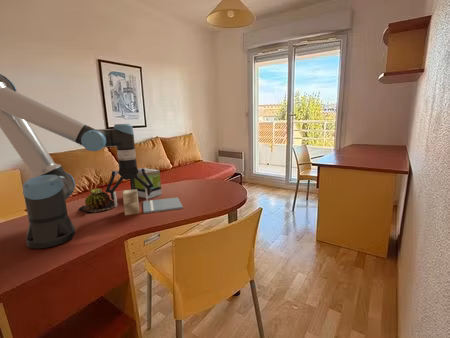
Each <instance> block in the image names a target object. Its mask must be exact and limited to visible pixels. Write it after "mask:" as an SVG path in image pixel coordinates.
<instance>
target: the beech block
mask: <svg viewBox="0 0 450 338" xmlns="http://www.w3.org/2000/svg"><path fill="white" fill-rule="evenodd" d="M122 199H123V201H122V202H123V206H124V207H123V209H124V216H130V215H137V214H140V206H139V205H140V204H139V203H140V202H139V197H138V192H137V189H134V190H131V189H127V190H125V189H124V190H123V192H122Z"/></svg>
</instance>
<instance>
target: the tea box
mask: <svg viewBox="0 0 450 338" xmlns="http://www.w3.org/2000/svg"><path fill="white" fill-rule="evenodd" d="M142 168H144V167H141V168H140V169H142ZM144 170H145V173H146V175H147V176H148V178H149V179H150V181H151V182H152V184H153V187H151V188H150V195H149V196H148V200H149V199H150V200H151V199H152V198H157V197H159V196H161V195H162V182H161V171H160V169H155V168H154V169H153V168H146V167H145V168H144ZM137 175H138V176H139V177H140V178H141V179H142V180H143V181H144V182H145V183H146V184H148V185H149V183H148V182H147V180H146V179H145V177H144V176H143V174H142V173H140V172H138V173H137ZM129 181H130V183H129V184H130V190H134V189H137V192H138V198H143V199H146V191H145V188H146V187H145V186H143V185H142V184H141V183H140V182H139V181H138V180H136V179H135V178H134V179H129Z"/></svg>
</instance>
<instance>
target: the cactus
mask: <svg viewBox="0 0 450 338" xmlns="http://www.w3.org/2000/svg"><path fill="white" fill-rule="evenodd" d="M89 193H90V194H89V195H88V196H87V197H85V199H84V203H85V205H82V206H80V207H79V208H78V209H77V210H78V211H79V212H83V213H99V212H102V211H105V210H110V209H113V208H116V207H115V203H114V200H112V199H111V194H108V192H106V191H103V189H101V188H99V187H98V188H95V189H94V188H93V189H91V190H90V191H89Z"/></svg>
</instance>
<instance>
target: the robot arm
mask: <svg viewBox="0 0 450 338" xmlns="http://www.w3.org/2000/svg"><path fill="white" fill-rule="evenodd" d="M31 124H32V125H34V126H37V127H39V128H41V129H44V130H46V131H48V132H50V133H52V134H53V133H54V134H55V135H58V136H59V137H62V138H65V139H67V140H70V141H71V142H74V143H76V144H78V145H80V146H82V147H83V148H85V150H88V151H90V152H98V151H101V150H103V149H104V148H107V147H115V148H116V154H117V159H118V160H117V162H118V170H112V171H111V176H110V180H109V182H108V184H107V186H106V189H105V193H110V199H111V200H112V201H114V203H115V207H114V208H117V207H118V200H117V192H116V189H117V188H118V187H119V185H120V184H122V182H123V180H125V181H127V180H130V179H134V178H135V179H136V180H138V181H139V182H140V183H141V184H142V185H143V186H145V187H146V188H145V191H146V198H145V199H146V200H145V201H147V203H148V201H149V199H148V196H149V195H150V188H151V187H153V184H152V182H151V181H150V179H149V178H148V176H147V175H146V173H145V170H144V167H141V168H142V169H141V168H138V164H137V159H136V157H137V153H136V145H135V135H134V134H135V133H134V129H133V128H134V127H133V125H132V124H130V123H115V124H114V125H113V128H108V129H107V128H105V129H104V128H103V129H101V128H100V129H95V128H93V127H91V126H89V125H87V124H85V123H82V122H80V121H79V120H76V119H74V118H72V117H70V116H68V115H66V114H64V113H61V112H59V111H58V110H55V109H54V108H51V107H49V106H47V105H46V104H45V105H44V104H43V103H41V102H39V101H36V100H34V99H32V98H31V97H28V96H26V95H24V94H22V93H20V92H17V88H16V86H15V84H14V83H13V81H11V79H9V78H8V77H6V76H4V75H3V74H1V73H0V129H1V131H2V132H3V134H4V135H5V137H6V138H7V140H8V141H9V143H10V145H11V146H12V147H13V149H14V150H15V151H16V153H17V154H18V156H19V157H20V159H22V162H23V163H24V164H25V165H26V167H27V168H28V170H29V171H30V173H31V174H30V178H29V179H27V180H25V181H24V182H23V184H22V195H23V197H24V202H25V208H26V213H27V218H28V223H29V224H28V228H27V233H26V238H25V243H26V246H27V247H28V248H30V249H44V248H45V249H47V248H50V247H51V248H52V247H56V246H57V245H61V244H64V243H66V242H68V241H70V240H71V239H73V238H74V236H75V234H76V228H75V227H76V226H74V224H73V221H72V219H70V217H69V215H68V208H67V202H66V201H67V199H69V198H70V196H71V195H72V194H73V193H74V190H75V188H76V187H75V186H76V183H75V179H74V177H73V176H72V175H71V174H70V173H68V172H66V171H65V169H64V168H63V165H61V164H60V163H59V164H58V163H55V161H54V160H53V158H52V157H51V154H49V152H48V150H47V148H46V147H45V145H44V144H43V143H42V141H41V140H40V138H39V137H38V135H37V133H36V132H35V130H34V129H33V127H32V126H31ZM138 172H140V173H142V174H143V176H144V177H145V179H146V180H147V182H148V183H149V185H148V184H146V183H145V182H144V181H143V180H142V179H141V178H140V177H139V176H138V175H137V173H138ZM117 175H119V176H120V177H119V179H118V180H117V182H116V183H115V184H114V185H113V187H112V184H113V182H114V179H115V177H116V176H117ZM111 187H112V188H111Z"/></svg>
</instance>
